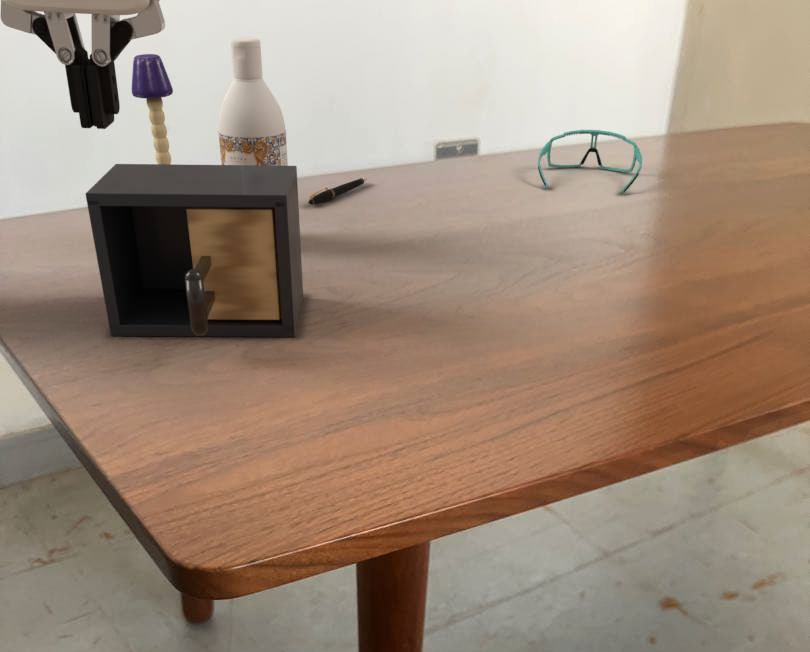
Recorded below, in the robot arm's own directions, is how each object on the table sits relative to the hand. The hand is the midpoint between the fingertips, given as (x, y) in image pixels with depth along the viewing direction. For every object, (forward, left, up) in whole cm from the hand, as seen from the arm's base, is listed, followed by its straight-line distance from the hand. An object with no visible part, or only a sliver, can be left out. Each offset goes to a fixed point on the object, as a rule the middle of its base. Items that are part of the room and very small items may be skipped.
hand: (98, 124), depth 66 cm
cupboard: (+5, +10, -18) cm, 21 cm away
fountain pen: (+15, +52, -18) cm, 57 cm away
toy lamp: (-6, +46, -18) cm, 50 cm away
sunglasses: (+49, +62, -18) cm, 81 cm away
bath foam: (+7, +32, -18) cm, 37 cm away
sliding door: (+8, +2, -17) cm, 19 cm away
